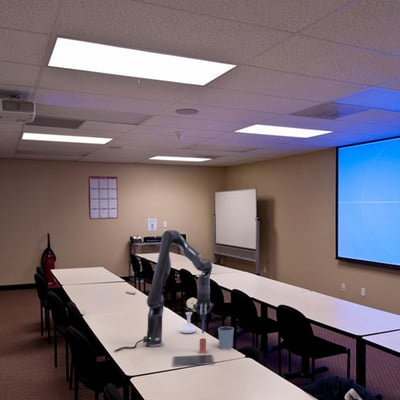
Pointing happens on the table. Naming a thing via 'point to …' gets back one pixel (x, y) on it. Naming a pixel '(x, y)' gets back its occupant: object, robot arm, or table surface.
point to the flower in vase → (189, 327)
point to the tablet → (193, 360)
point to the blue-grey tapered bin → (226, 337)
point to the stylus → (203, 323)
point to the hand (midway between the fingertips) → (203, 320)
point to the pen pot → (202, 345)
